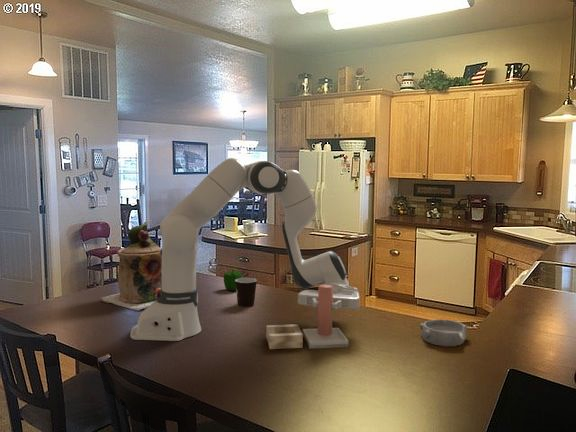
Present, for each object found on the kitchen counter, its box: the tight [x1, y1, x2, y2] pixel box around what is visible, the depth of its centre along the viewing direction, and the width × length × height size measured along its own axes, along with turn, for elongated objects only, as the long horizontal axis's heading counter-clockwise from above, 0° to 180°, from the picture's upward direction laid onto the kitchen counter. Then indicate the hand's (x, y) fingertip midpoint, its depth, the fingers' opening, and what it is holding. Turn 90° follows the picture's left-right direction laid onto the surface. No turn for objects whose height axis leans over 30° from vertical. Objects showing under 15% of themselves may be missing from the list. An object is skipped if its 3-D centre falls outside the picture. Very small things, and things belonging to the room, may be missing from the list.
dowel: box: [317, 284, 333, 336], centre depth 148 cm, size 4×4×15 cm
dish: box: [419, 318, 468, 347], centre depth 151 cm, size 14×14×5 cm
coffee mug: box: [235, 277, 258, 308], centre depth 189 cm, size 12×9×10 cm
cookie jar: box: [100, 221, 162, 311], centre depth 192 cm, size 25×25×32 cm
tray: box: [302, 327, 349, 350], centre depth 149 cm, size 12×12×2 cm
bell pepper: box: [223, 268, 243, 292], centre depth 211 cm, size 8×8×10 cm
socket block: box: [265, 323, 304, 350], centre depth 147 cm, size 10×10×4 cm
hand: (324, 306), depth 147 cm, fingers closed on dowel, 4 cm apart
